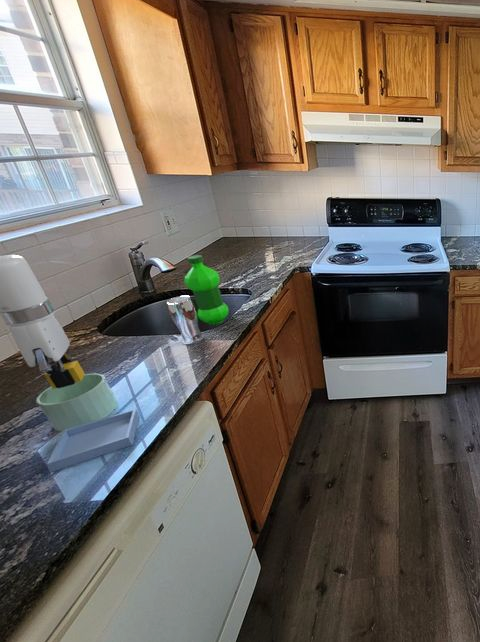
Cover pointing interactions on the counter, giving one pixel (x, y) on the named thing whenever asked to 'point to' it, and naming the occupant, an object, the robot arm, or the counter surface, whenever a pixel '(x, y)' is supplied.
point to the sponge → (74, 371)
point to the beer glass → (185, 318)
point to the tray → (94, 439)
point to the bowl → (78, 402)
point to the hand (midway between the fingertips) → (68, 380)
